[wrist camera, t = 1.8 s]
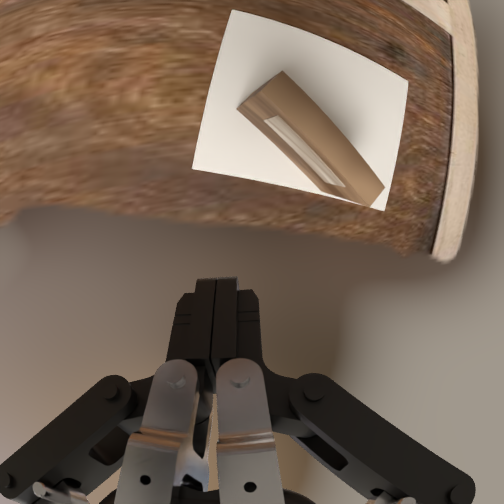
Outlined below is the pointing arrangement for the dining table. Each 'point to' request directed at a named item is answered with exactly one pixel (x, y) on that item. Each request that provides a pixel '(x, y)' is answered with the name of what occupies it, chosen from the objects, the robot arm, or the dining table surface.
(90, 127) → the dining table surface
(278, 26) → the mat
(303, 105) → the slab
